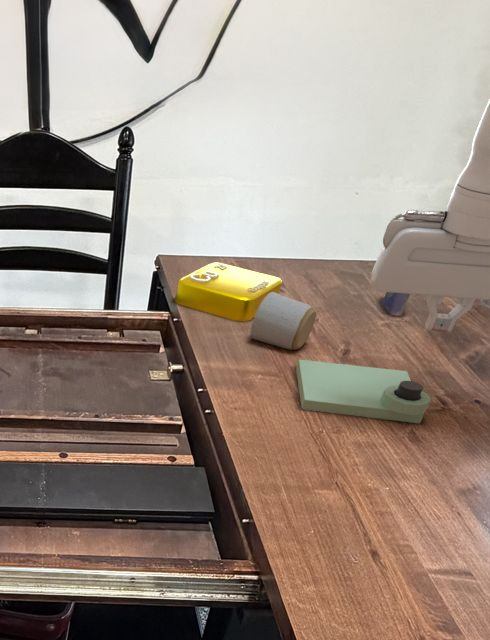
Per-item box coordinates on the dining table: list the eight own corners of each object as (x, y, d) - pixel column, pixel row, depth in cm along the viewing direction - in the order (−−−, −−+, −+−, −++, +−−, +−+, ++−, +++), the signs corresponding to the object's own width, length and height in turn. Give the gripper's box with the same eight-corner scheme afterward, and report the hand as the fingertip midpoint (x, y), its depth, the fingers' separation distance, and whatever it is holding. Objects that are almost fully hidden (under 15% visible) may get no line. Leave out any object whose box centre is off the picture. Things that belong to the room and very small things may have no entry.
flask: (402, 319, 129) (426, 256, 122) (385, 317, 129) (408, 255, 122) (395, 301, 135) (418, 241, 128) (379, 300, 136) (401, 239, 129)
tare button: (415, 393, 101) (421, 381, 99) (419, 403, 98) (425, 391, 97) (393, 390, 101) (398, 379, 100) (396, 400, 99) (401, 388, 98)
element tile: (244, 325, 126) (250, 298, 123) (170, 304, 133) (175, 277, 130) (280, 302, 134) (287, 276, 131) (209, 283, 141) (214, 258, 138)
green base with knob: (405, 383, 110) (414, 361, 108) (423, 429, 99) (434, 407, 97) (295, 370, 113) (301, 349, 110) (301, 414, 102) (308, 392, 100)
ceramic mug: (292, 358, 116) (307, 310, 111) (245, 344, 120) (257, 298, 114) (316, 339, 122) (331, 293, 117) (270, 326, 126) (283, 281, 121)
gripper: (397, 215, 84) (357, 331, 93) (590, 227, 80) (527, 346, 90) (389, 201, 88) (351, 313, 98) (571, 212, 85) (513, 327, 94)
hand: (437, 329), depth 94 cm, fingers closed
